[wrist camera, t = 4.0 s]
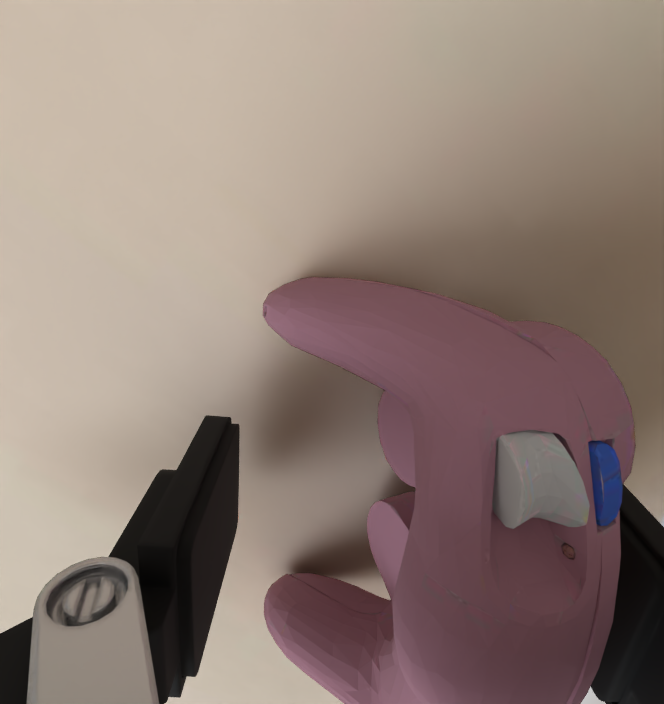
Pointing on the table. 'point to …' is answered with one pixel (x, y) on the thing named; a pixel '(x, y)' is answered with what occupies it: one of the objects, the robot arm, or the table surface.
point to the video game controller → (465, 503)
